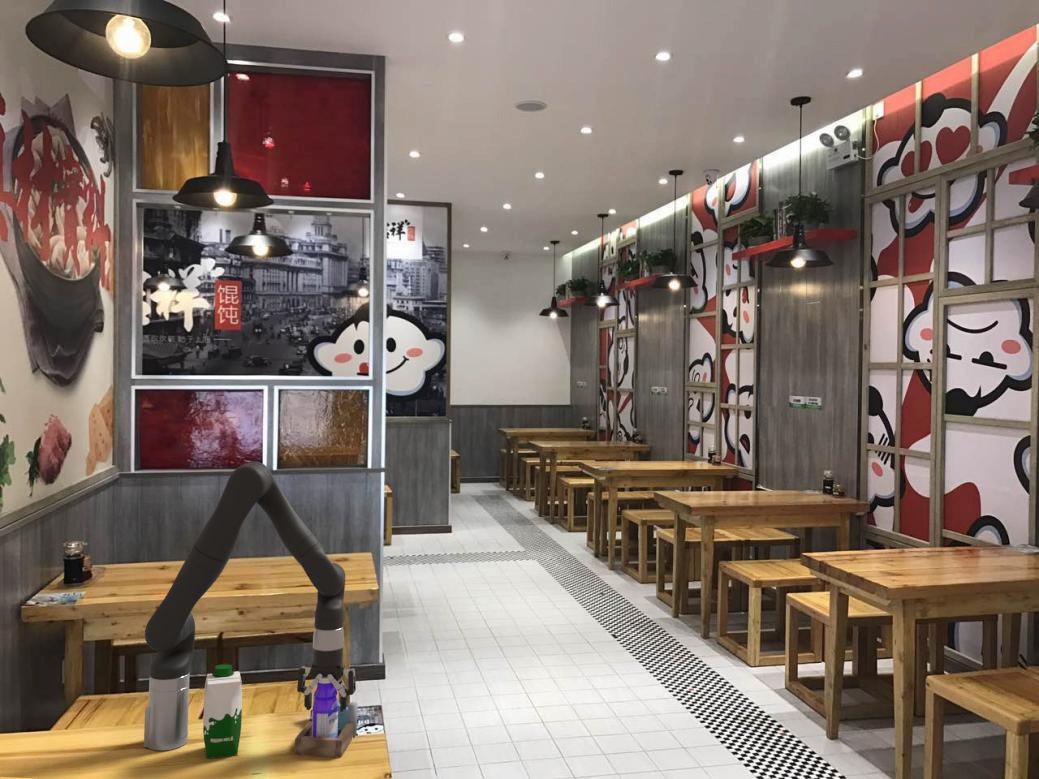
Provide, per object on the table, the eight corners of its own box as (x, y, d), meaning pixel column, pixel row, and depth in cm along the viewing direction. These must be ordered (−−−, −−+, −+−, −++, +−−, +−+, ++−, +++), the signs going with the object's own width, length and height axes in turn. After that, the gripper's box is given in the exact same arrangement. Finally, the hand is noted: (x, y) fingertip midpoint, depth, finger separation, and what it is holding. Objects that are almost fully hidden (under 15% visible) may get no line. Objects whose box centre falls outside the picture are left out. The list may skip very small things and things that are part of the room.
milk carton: (239, 741, 206) (241, 661, 207) (241, 756, 198) (243, 673, 198) (202, 746, 203) (204, 665, 203) (202, 761, 195) (204, 676, 195)
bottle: (329, 752, 201) (331, 681, 201) (307, 750, 202) (309, 679, 202) (341, 740, 208) (342, 671, 209) (320, 738, 209) (321, 670, 210)
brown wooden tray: (294, 755, 199) (295, 738, 199) (308, 736, 210) (309, 721, 210) (341, 757, 199) (341, 740, 199) (352, 738, 210) (353, 723, 210)
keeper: (311, 718, 222) (311, 688, 222) (318, 715, 224) (319, 686, 224) (350, 737, 210) (351, 706, 210) (358, 735, 211) (359, 704, 212)
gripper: (295, 648, 202) (293, 714, 202) (352, 650, 202) (350, 717, 201) (304, 639, 210) (302, 703, 209) (359, 641, 209) (357, 705, 209)
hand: (325, 709), depth 205 cm, fingers open, 8 cm apart
